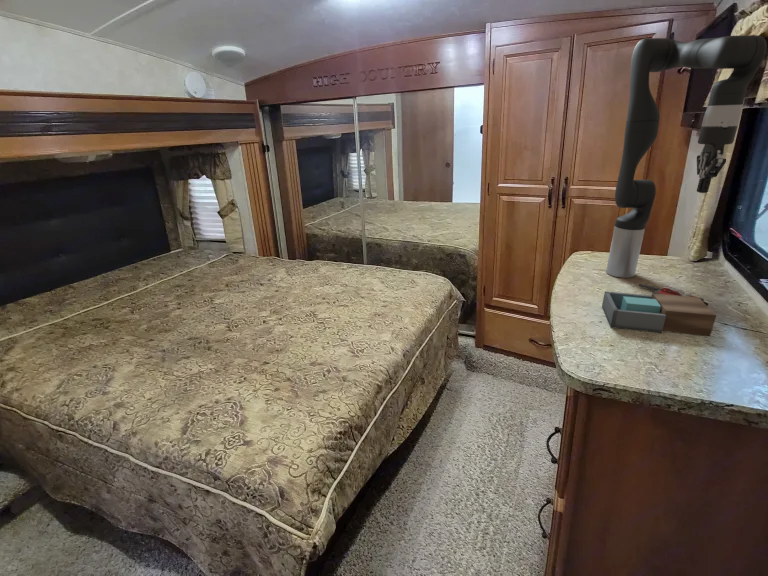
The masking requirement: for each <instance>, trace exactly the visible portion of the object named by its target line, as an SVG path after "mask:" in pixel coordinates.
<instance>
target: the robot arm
mask: <svg viewBox="0 0 768 576" xmlns="http://www.w3.org/2000/svg"><path fill="white" fill-rule="evenodd" d="M767 47H768V45H767V40H766V39H765V37H763V36H762V35H757V34H756V35H755V34H754V35H751V34H750V35H726V36H721V37H712V38H711V37H710V38H709V37H708V38H701V39H700V38H699V39H695V40H694V39H693V40H692V41H689V42H686V41H685V42H684V41H679V40H674V39H671V38H666V37H662V38H661V37H649V38H648V37H647V38H643V39H640V40H639V41H638V42H637V43H636V45H635V47H634V48H633V50H632V51H633V52H632V54H631V59H630V73H629V75H630V76H629V77H630V78H629V79H630V80H629V81H630V83H629V84H630V85H629V98H628V99H629V100H628V106H627V107H628V109H627V115H626V121H625V130H624V140H623V149H622V155H621V156H622V157H621V162H620V167H619V173H618V177H617V182H616V184H615V185H616V186H615V190H614V202H615V205H616V206H617V208H621V209H631V210H630V211H629V212H627V213H625V214H623V215H620V216H618V217H617V218H616V219H615V223H614V226H613V233H612V239H611V243H610V249H609V254H608V260H607V263H606V269H605V273H606V274H608V275H610V276H612V277H616V278H626V279H627V278H629V279H630V278H634V277H635V275H636V271H637V266H638V262H639V258H640V254H641V248H642V243H643V239H644V235H645V229H646V226H647V224H648V222H649V219H650V216H651V213H652V209H653V206H654V201H655V197H656V190H657V188H656V184H655V182H654V181H653V180H650V179H635V174H636V171H637V168H638V165H639V163H640V161H641V160H642V159H643V157H644V156H645V155H646V154H647V152H648V151H649V150H650V148H651V147H652V146H653V144H654V143H655V141H656V140H657V137H658V133H659V125H660V120H661V119H660V118H661V114H660V111H659V108H658V104H657V102H656V100H655V98H654V96H653V94H652V92H651V87H650V73H659V72H664V71H667V70H672V69H674V68H683V67H684V68H687V69H717V70H720V69H721V70H724V69H725V70H726V69H731V70H732V72H731V73H730V75H729V76H728V77H727V78H726V79H725V78H724V79H721V80H719V81H716V82H715V83H714V84H713V86H712V88H711V91H710V96H709V99H708V103H707V106H706V110H705V113H704V115H703V119H702V123H701V127H700V131H699V135H698V139H697V144H699V145H703V148H702V150H701V152H700V154H699V155H697V156H696V175H698V178H699V179H698V183H697V188H696V192H697V193H700V194H707V193H708V192H709V189H710V185H711V182H712V180H713V179H714V178H717V176H718V175H719V174H720V172H721V170H722V169H723V167H724V166H725V164H726V162H727V158H723V157H724V156H725V146H726V145H732V144H734V141H735V138H736V135H737V131H738V127H739V123H740V120H741V116H742V110H743V104H744V101H745V96H746V93H747V88H748V87H749V85H750V83H751V82H752V80H753V78H754V77H755V75H756V73H757V71H758V69H759V68H760V66H761V64H762V62H763V61H764V59H765V56H766V54H767V50H768V49H767Z"/></svg>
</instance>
